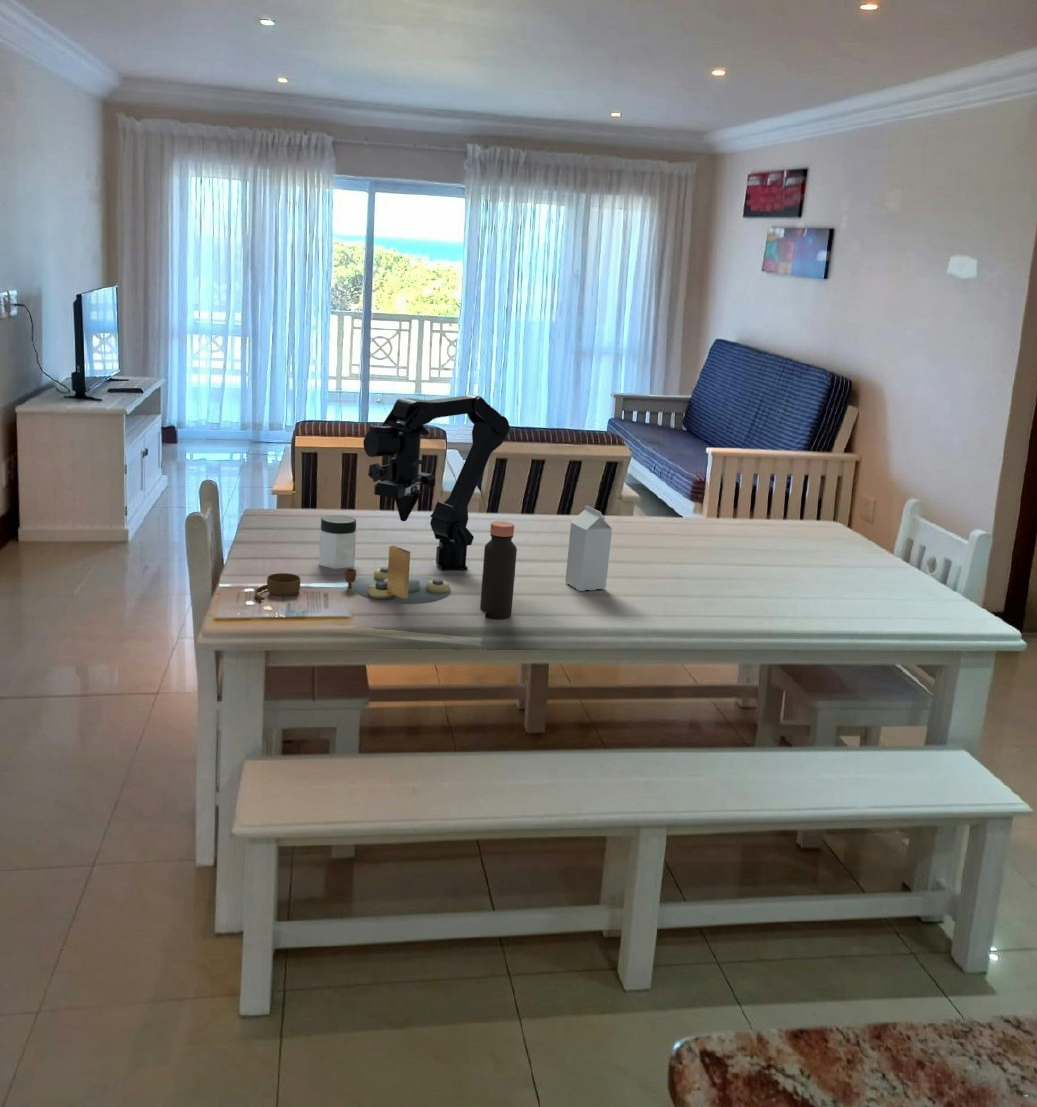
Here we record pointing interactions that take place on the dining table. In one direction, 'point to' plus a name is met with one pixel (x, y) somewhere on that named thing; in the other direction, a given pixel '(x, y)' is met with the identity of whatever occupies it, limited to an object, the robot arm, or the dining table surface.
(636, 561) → the dining table surface
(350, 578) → the place setting
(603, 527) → the milk carton
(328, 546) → the jar
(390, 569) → the wooden slab
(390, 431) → the robot arm
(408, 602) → the plate
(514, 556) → the bottle
